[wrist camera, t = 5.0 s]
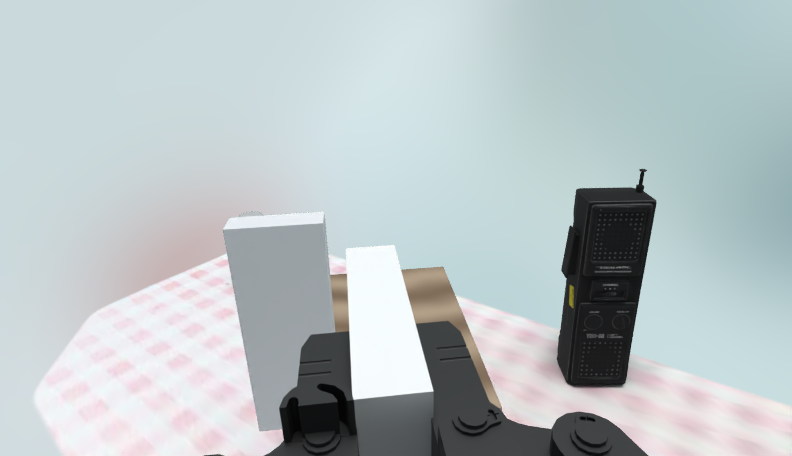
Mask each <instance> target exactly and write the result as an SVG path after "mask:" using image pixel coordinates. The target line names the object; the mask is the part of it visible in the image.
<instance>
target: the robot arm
mask: <svg viewBox="0 0 792 456" xmlns="http://www.w3.org/2000/svg"><path fill="white" fill-rule="evenodd" d="M346 263H347V286H348V309H349V331H345V332H334V333H323V334H312V335H310V336H309V338H308V339H307V341H306V342H305V343H304V345H303V346H302V347H301V354H300V365H299V372H298V381H297V387H295V388H293V389H291V390H290V391H289V392H288V393H287V394H286V395H285V396H284V397H283V400H282V402H281V404H280V407H279V411H280V418H281V424H282V430H283V436H284V441H283V442H282V443H281V445H280V446H279V447H277V448H276V449H274V450H273V451H272V452H270V453H269V454H267V455H265V456H648V455H647V454H646V453H645V452H644V451H643V450H642V449H641V448H640V447H638V446H637V445H636V444H635V443H634V442H633V441H632V440H631V439H630V438H629V437H628V436H627V435H626V434H625V433H624V432H623V431H622V430H621V429H620V428H618V427H617V426H616V425H614V424H613V423H611V422H610V421H609V420H607V419H605V418H602V417H600V416H597V415H595V414H591V413H584V412H574V413H567V414H565V415H563V416H561V417H560V418H558V419H557V420H556V422H555V424H554V425H553V427H552V429H546V428H539V427H533V426H527V425H523V424H519V423H516V422H514V421H511V420H509V419H507V418H506V417H505V415H504V414H503V412H502V411H501V410H500V408H498V407H497V406H495V405H494V404H492V403H491V402H490V401H489V399H488V397H487V394H486V392H485V389H484V387H483V384H482V382H481V380H480V377H479V375H478V372H477V370H476V367H475V365H474V362H473V360H472V359H471V355H470V353H469V350H468V348H467V347H466V343H465V341H464V338H463V336H462V333H461V331H460V330H458V329H457V328H456V327H455V326H454V325H453V324H451V323H450V322H449V321H440V322H429V323H418V324H415V320H414V316H413V313H412V309H411V305H410V301H409V298H408V294H407V290H406V287H405V283H404V279H403V275H402V272H401V268H400V264H399V261H398V257H397V253H396V250H395V245H386V246H375V247H374V246H372V247H359V248H346ZM205 456H223V455H220V454H217V455H205Z"/></svg>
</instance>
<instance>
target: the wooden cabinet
mask: <svg viewBox="0 0 792 456" xmlns="http://www.w3.org/2000/svg"><path fill="white" fill-rule="evenodd" d="M401 272H402V275H403V279H404V283H405V287H406V290H407V294H408V298H409V301H410V305H411V309H412V313H413V316H414V320H415V324H418V323H429V322H440V321H449V322H450V323H451V324H453V325H454V326H455V327H456V328H457V329H458V330H460V331H461V333H462V336H463V338H464V341H465V343H466V347H467V348H468V350H469V353H470V355H471V359H472V360H473V362H474V365H475V367H476V370H477V372H478V375H479V377H480V380H481V382H482V384H483V387H484V389H485V392H486V394H487V397H488V399H489V401H490V402H491V403H492V404H494V405H495V406H497V407H498V408H500V410H501V411H502V407H501V404H500V402H499V400H498V397H497V395H496V392H495V390H494V388H493V385H492V383H491V380H490V378H489V376H488V373H487V371H486V368H485V366H484V364H483V361H482V359H481V356H480V354H479V352H478V349H477V347H476V344H475V342H474V340H473V337H472V335H471V332H470V330H469V328H468V325H467V323H466V320H465V318H464V316H463V313H462V311H461V308H460V306H459V304H458V301H457V299H456V296H455V294H454V292H453V289H452V287H451V285H450V282H449V280H448V277H447V275H446V273H445V270H444V268H443V267H433V268H422V269H421V268H420V269H406V270H401ZM330 279H331V290H332V301H333V311H334V322H335V332H345V331H349V309H348V286H347V274H338V275H330Z"/></svg>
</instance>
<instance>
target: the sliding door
mask: <svg viewBox="0 0 792 456" xmlns="http://www.w3.org/2000/svg"><path fill="white" fill-rule="evenodd" d="M223 233H224V239H225V245H226V250H227V256H228V261H229V266H230V272H231V277H232V283H233V288H234V294H235V299H236V305H237V310H238V316H239V321H240V327H241V332H242V338H243V343H244V349H245V354H246V359H247V365H248V370H249V376H250V381H251V387H252V392H253V398H254V403H255V409H256V414H257V420H258V425H259V431H268V430H278V429H282V424H281V418H280V411H279V407H280V404H281V402H282V400H283V397H284V396H285V395H286V394H287V393H288V392H289V391H290V390H291V389H293V388H295V387H297V381H298V372H299V365H300V354H301V347H302V346H303V345H304V343H305V342H306V341H307V339H308V338H309V336H310V335H312V334H323V333H334V332H335V322H334V311H333V301H332V290H331V279H330V268H329V258H328V247H327V237H326V227H325V215H324V212H312V213H298V214H297V213H296V214H280V215H264V216H248V217H233V218H229V220H228V222H227V224H226V225H225V227H224V228H223Z"/></svg>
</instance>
